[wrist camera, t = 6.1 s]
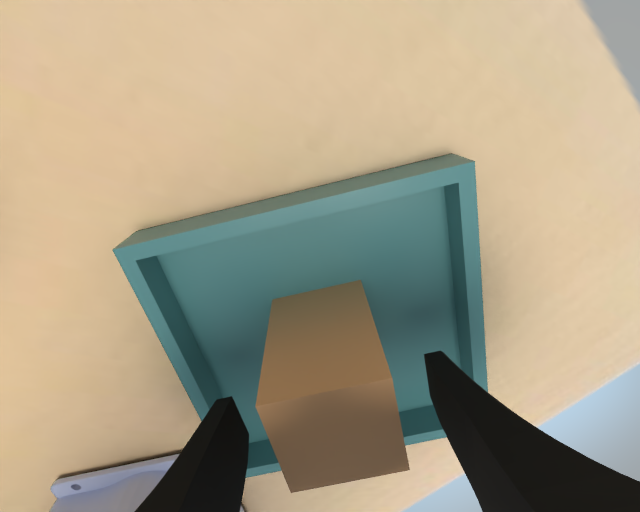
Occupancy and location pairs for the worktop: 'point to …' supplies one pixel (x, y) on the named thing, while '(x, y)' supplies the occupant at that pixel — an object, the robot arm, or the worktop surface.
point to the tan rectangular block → (328, 390)
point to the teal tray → (320, 283)
